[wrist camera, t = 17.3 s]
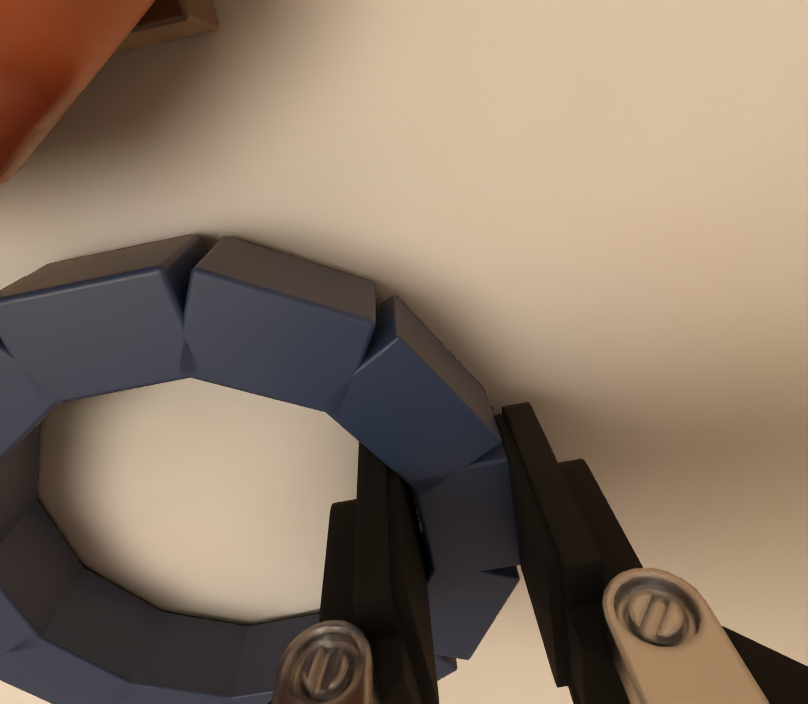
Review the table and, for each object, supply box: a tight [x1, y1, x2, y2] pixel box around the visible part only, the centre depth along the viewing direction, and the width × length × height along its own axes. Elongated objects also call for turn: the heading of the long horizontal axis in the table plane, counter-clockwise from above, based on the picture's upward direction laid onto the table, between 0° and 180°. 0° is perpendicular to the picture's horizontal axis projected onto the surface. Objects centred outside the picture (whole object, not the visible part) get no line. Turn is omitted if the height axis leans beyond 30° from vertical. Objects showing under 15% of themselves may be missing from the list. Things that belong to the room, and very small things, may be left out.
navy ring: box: [0, 234, 521, 704], centre depth 11 cm, size 12×12×2 cm
